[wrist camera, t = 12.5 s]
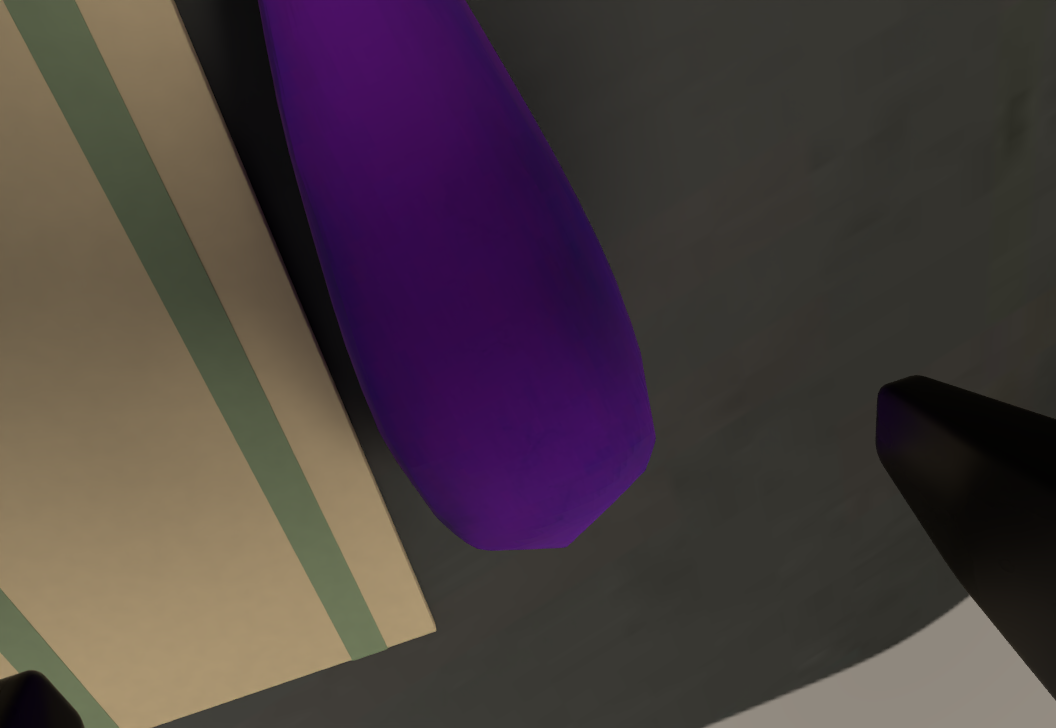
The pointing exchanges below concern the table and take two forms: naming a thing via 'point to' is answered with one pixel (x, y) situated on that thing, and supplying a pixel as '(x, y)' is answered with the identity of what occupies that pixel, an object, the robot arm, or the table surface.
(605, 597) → the table surface
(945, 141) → the table surface
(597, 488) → the purple long tapered piece
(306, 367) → the cloth
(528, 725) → the table surface
